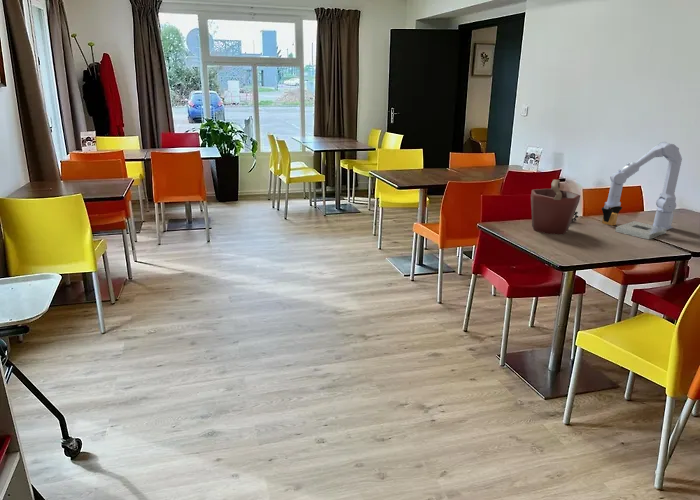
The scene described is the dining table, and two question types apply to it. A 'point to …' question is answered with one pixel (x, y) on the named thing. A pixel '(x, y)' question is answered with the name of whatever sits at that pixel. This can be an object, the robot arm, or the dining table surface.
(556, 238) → the dining table surface
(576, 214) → the valve
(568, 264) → the dining table surface
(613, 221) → the orange rectangular block
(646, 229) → the grey plate with hole
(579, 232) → the dining table surface
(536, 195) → the bucket
